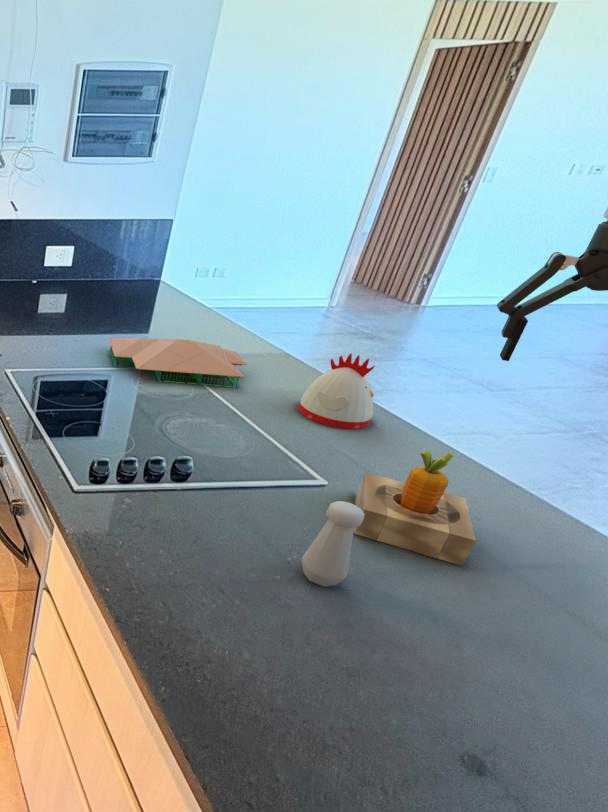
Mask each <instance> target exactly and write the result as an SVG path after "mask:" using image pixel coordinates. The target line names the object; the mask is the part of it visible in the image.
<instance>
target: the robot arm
mask: <svg viewBox="0 0 608 812" xmlns="http://www.w3.org/2000/svg"><path fill="white" fill-rule="evenodd" d="M602 216H603V217H604V219H607V220H605V221H602V222H601V223H599V224H598V225H597V227H596V229H595V231H594V233H593V235H592V237H591V238H590V241H589V243H588V245H587V247H586V249H585V251H584V252H583V253H581V255H579V256H573V255H567V254H564V253H562V252H560V251H555V252H553V253H551V255H550V256H549V257H548V260H547V261H546V262H545V264H544V265H543V266H542V267H541V268H540V269H538V270H537V271H536V272H535V273H533V274H532V275H531V276H530V277H528V279H526V280H525V281H523V282H522V283H521V284H520V285H518V286H517V287H516V288H515V289H514V290H512V291H511V292H510V293H509V294H508V295H506V296H505V297H504V298H502V299H501V300H500V301H499V302H498V303H497V304H496V307H497V310H498V311H499V312H501V313H502V314H506V315H507V316H508V317H507V319H506V321H505V324H504V326H503V328H502V329H501V336H502V338H505V339H506V341H505V343H504V345H503V347H502V350H501V351H500V353H499V357H500V359H501V360H502V361H506V362H510V360H511V357H512V355H513V354H514V351H515V350H516V347H517V345H518V343H519V341H520V339H521V337H522V335H523V332H524V330H525V329H526V326H527V325H528V322H529V320H528V319H527V317H526V316H529V315H531V314H532V313H534V312H536V311H538V310H540V309H542V308H544V307H546V306H548V305H550V304H552V303H554V302H556V301H559V300H560V299H561V298H564V297H565V296H567V295H570V294H572V293H574V292H578V291H580V290H582V289H584V288H587V289H589V290H591V291H595V292H603V291H604V292H605V291H608V206H607V207H606V209H605V211H604V213H603V215H602ZM570 266H574V267H575V270H576V274H574V275H572V276H570V277H568V278H566V279H565V280H563V282H561V283H558V284H557V285H555V286H553V287H551V288H549V289H547V290H545V291H543V292H541V293H539V294H537V295H536V296H533V297H531V298H530V299H528V300H525V299H526V298H527V297H528V296H530V295H531V294H532V293H533V292H535V291H536V290H538V289H539V288H540V287H541V286H543V285H544V284H545V283H546V282H548V281H549V280H550V279H551V278H553V277H554V276H555V275H556V274H558V272H559V271H564V270H567V268H569V267H570ZM524 300H525V301H524ZM522 301H523V302H522ZM521 302H522V303H521ZM519 303H520V304H519Z"/></svg>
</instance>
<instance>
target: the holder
mask: <svg viewBox="0 0 608 812" xmlns="http://www.w3.org/2000/svg"><path fill="white" fill-rule="evenodd" d="M405 483H406V481H405V482H404V481H401V480H400V481H399V480H396V479H393V478H389V477H384V476H381V475H376V474H373V473H369V472H364V474H363V477H362V479H361V481H360V484H359V486H358V489H357V491H356V493H355V502H354V505H356V506H357V507H359V508H360V509H361V510H362V511H363V513H364V519H363V522H362V524H361V525H360V526H359V527H356V528H354V532H353V535H354V534H355V535H357V536H360V537H364V538H367V539H370V540H373V541H378V542H381V543H383V544H388V545H390V546H394V547H396V548H397V547H398V548H401V549H404V550H407V551H411V552H414V553H418V554H421V555H424V556H427V557H431V558H434V559H437V560H441V561H444V562H448V563H450V564H454V565H457V566H461V567H463V565H464V564H465V562H466V560H467V559H468V557H469V555H470V552H471V551H472V549H473V547H474V545H475V543H476V541H477V540H476V536H475V531H474V528H473V527H474V526H473V522H472V519H471V514H470V510H469V506H468V501H467V498H465V497H462V496H458V495H455V494H451V493H448V492H444V493H443V495H442V497H441V498H440V500H439V502H438V504H437V505H436V506H435V508H434V509H433V510H432V511H431V512H430V513H429V514H421V513H417V512H413V511H411V510H408V509H406V508H404V507H402V506H401V505H400V502H401V496H402V491H403V489H404V486H405Z"/></svg>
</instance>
